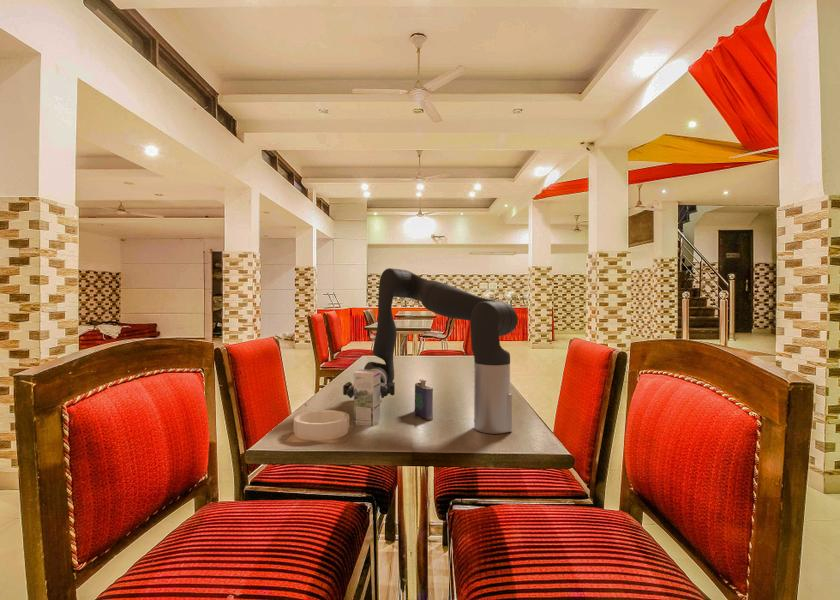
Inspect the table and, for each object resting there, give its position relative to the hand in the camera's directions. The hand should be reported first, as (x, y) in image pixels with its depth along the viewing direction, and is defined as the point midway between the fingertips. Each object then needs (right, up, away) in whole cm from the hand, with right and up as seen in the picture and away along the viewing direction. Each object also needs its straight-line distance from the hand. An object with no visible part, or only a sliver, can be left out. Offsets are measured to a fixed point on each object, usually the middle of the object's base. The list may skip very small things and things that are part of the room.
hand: (366, 394), depth 118 cm
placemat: (-10, -8, -8) cm, 15 cm away
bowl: (-10, -8, -8) cm, 15 cm away
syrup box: (0, -9, +2) cm, 9 cm away
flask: (+15, -9, +10) cm, 20 cm away
